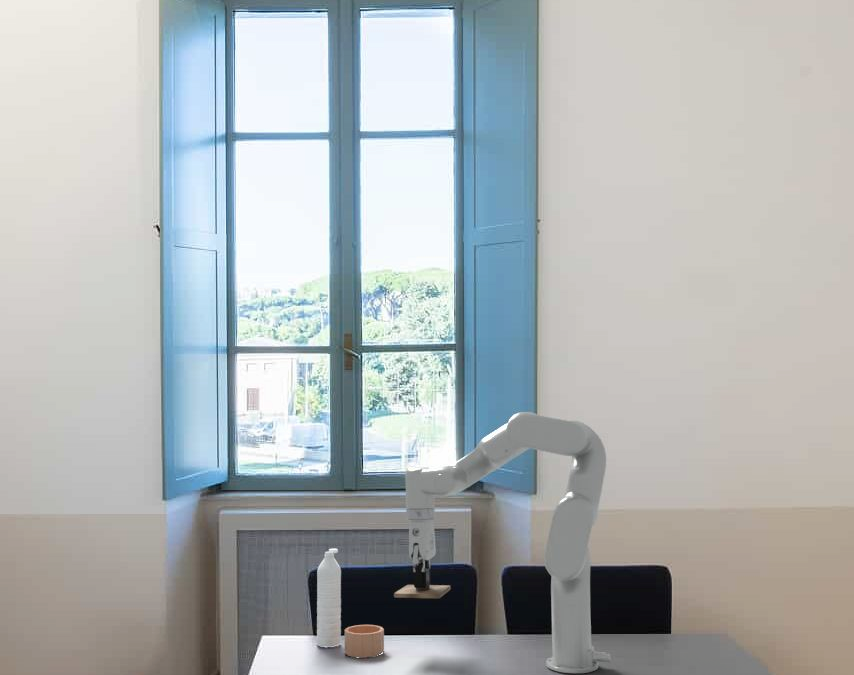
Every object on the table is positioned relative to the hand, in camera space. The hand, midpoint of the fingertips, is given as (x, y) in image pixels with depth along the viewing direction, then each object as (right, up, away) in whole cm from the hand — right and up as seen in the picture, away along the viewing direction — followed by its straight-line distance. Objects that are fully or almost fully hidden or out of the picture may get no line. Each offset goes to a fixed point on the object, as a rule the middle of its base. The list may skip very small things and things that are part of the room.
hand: (422, 585), depth 219 cm
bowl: (-15, -18, 0) cm, 23 cm away
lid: (0, -2, 0) cm, 2 cm away
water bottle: (-25, -19, +9) cm, 33 cm away
